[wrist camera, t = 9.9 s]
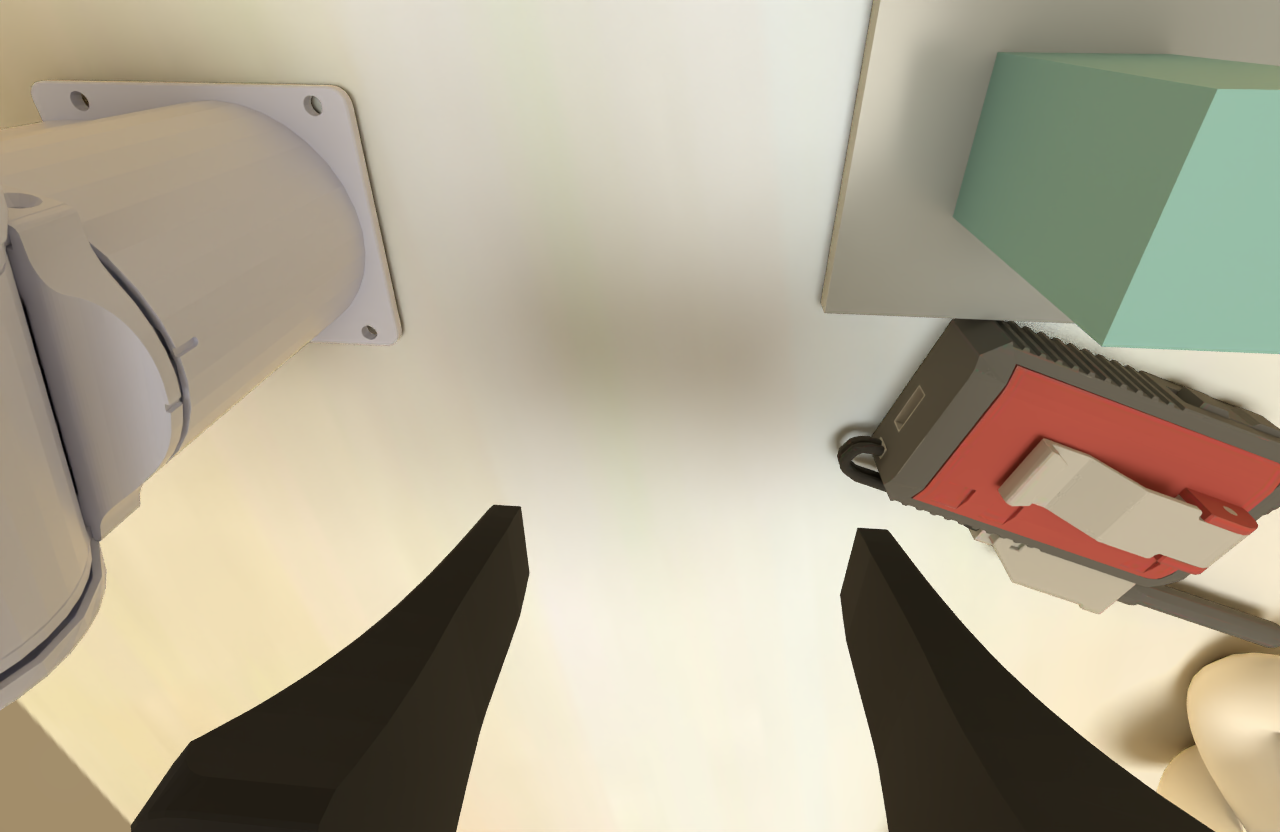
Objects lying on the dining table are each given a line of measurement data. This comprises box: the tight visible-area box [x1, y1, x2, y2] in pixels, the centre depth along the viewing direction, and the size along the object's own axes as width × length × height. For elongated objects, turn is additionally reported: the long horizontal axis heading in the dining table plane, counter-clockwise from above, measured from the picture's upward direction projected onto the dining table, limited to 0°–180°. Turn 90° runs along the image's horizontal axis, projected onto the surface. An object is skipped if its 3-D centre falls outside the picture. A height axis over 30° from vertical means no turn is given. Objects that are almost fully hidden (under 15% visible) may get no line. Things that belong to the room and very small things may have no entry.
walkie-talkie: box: [837, 318, 1280, 648], centre depth 22 cm, size 9×4×20 cm
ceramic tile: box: [821, 0, 1280, 323], centre depth 17 cm, size 10×10×1 cm
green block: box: [953, 52, 1280, 354], centre depth 13 cm, size 4×4×8 cm
